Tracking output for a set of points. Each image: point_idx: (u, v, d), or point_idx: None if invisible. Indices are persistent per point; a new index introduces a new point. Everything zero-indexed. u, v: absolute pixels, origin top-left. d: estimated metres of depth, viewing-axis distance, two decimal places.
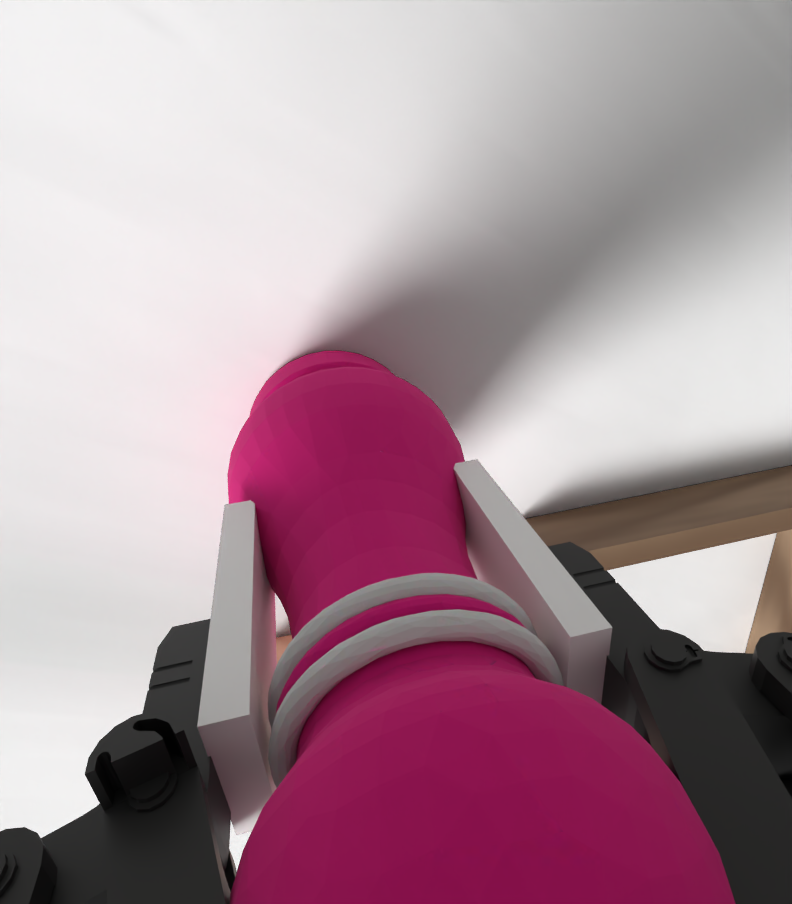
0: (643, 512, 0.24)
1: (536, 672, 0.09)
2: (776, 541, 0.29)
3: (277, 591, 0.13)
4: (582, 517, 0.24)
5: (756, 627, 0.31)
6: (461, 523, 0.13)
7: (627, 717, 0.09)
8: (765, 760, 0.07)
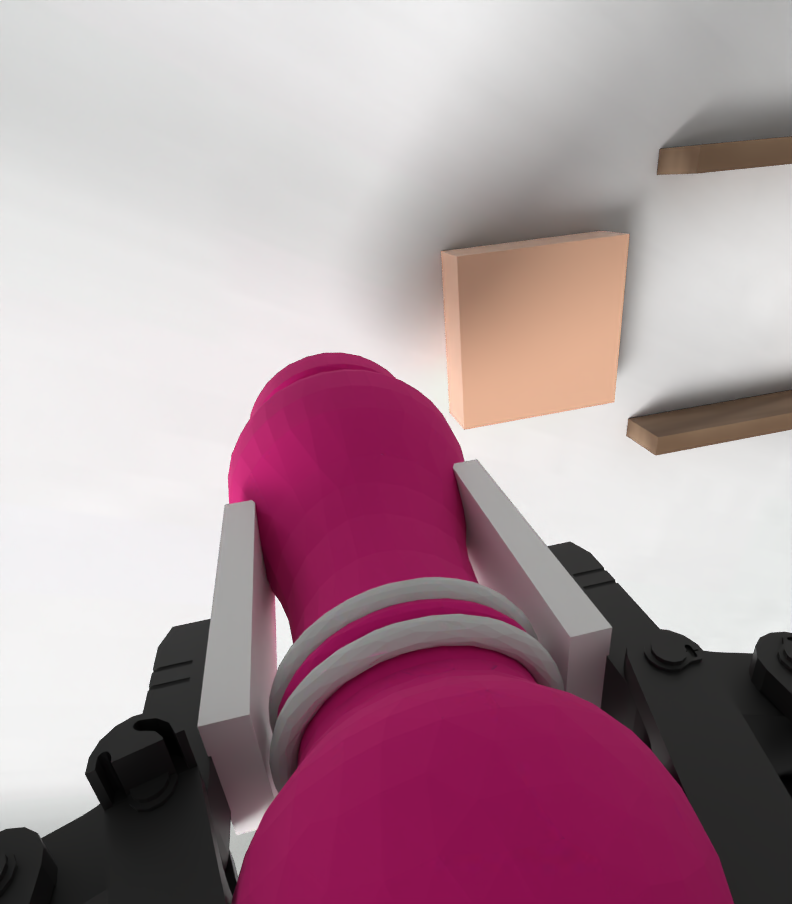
0: None
1: (537, 676, 0.09)
2: None
3: (278, 594, 0.13)
4: None
5: None
6: (461, 526, 0.13)
7: (627, 717, 0.09)
8: (765, 760, 0.07)
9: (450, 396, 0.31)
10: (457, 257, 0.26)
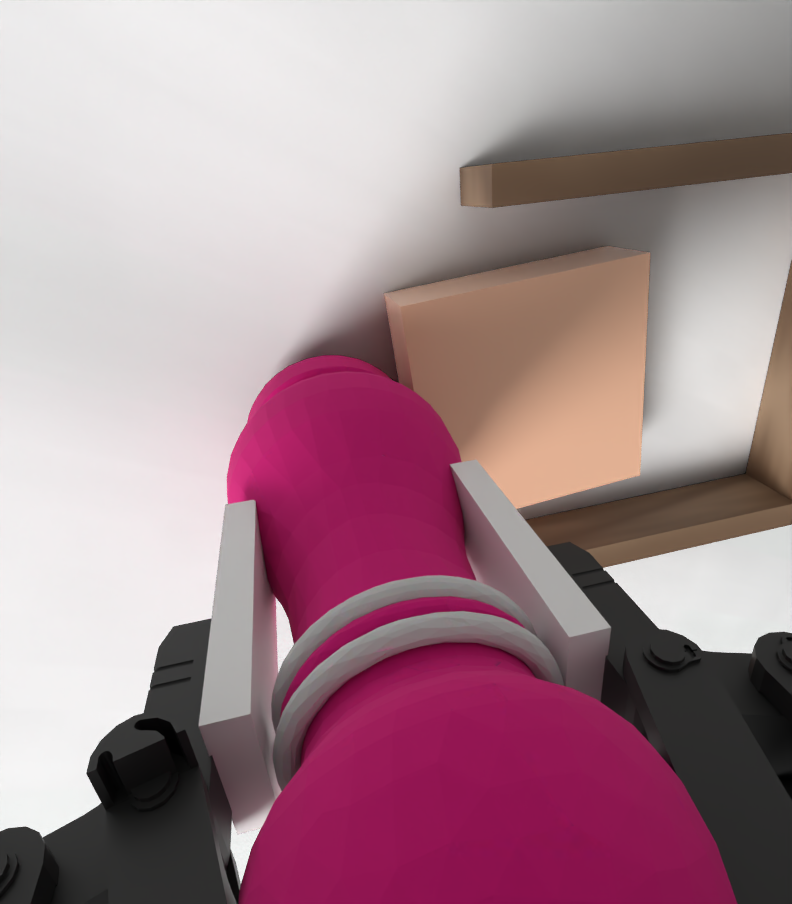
0: None
1: (538, 674, 0.09)
2: None
3: (277, 593, 0.13)
4: None
5: (770, 384, 0.26)
6: (460, 527, 0.14)
7: (626, 717, 0.09)
8: (764, 760, 0.07)
9: None
10: (401, 308, 0.18)
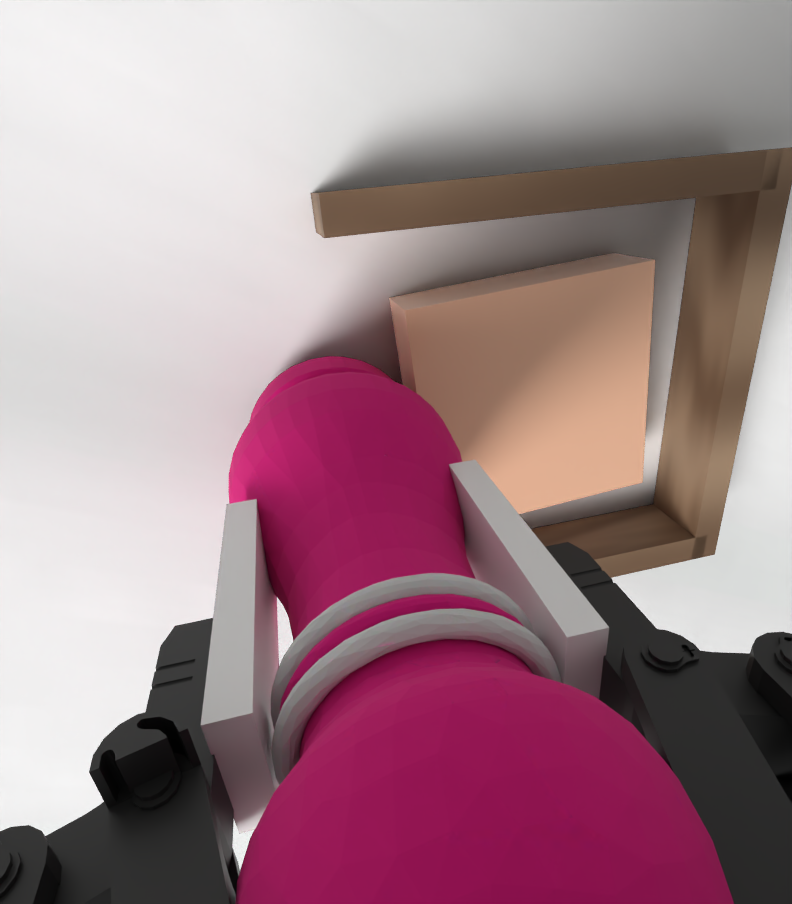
0: None
1: (537, 673, 0.09)
2: (685, 281, 0.22)
3: (277, 590, 0.13)
4: None
5: (670, 414, 0.25)
6: (461, 529, 0.14)
7: (624, 717, 0.09)
8: (761, 760, 0.07)
9: None
10: (405, 312, 0.18)
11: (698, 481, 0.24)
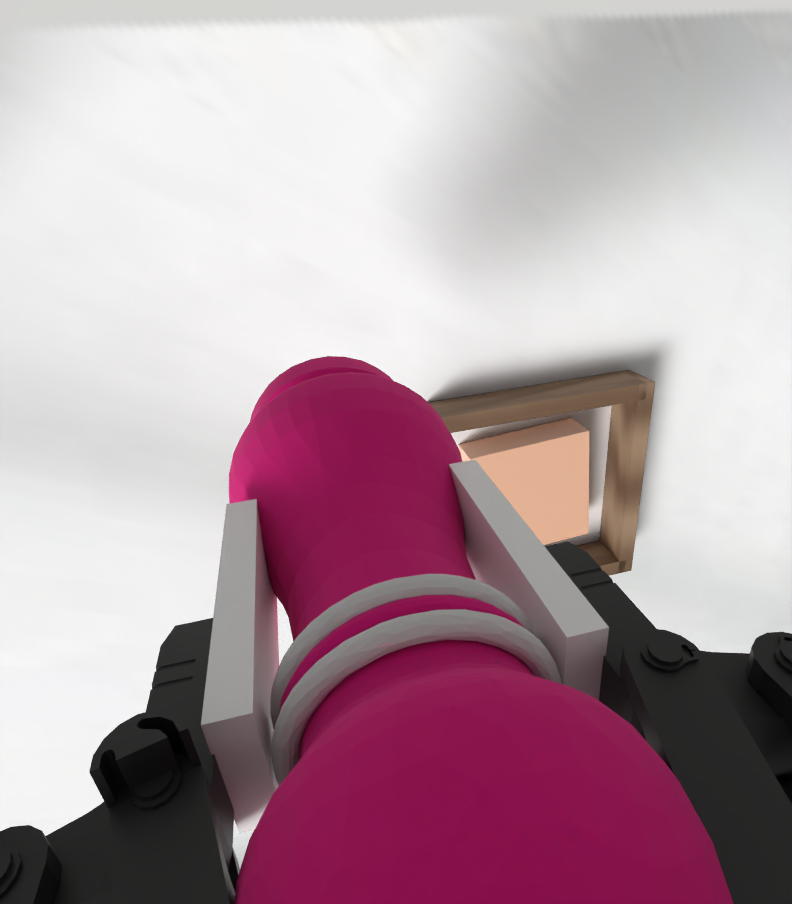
0: (506, 396, 0.38)
1: (537, 674, 0.09)
2: (610, 428, 0.43)
3: (277, 591, 0.13)
4: (467, 399, 0.38)
5: (605, 493, 0.45)
6: (461, 529, 0.14)
7: (624, 717, 0.09)
8: (761, 760, 0.07)
9: None
10: (470, 459, 0.38)
11: (619, 531, 0.44)
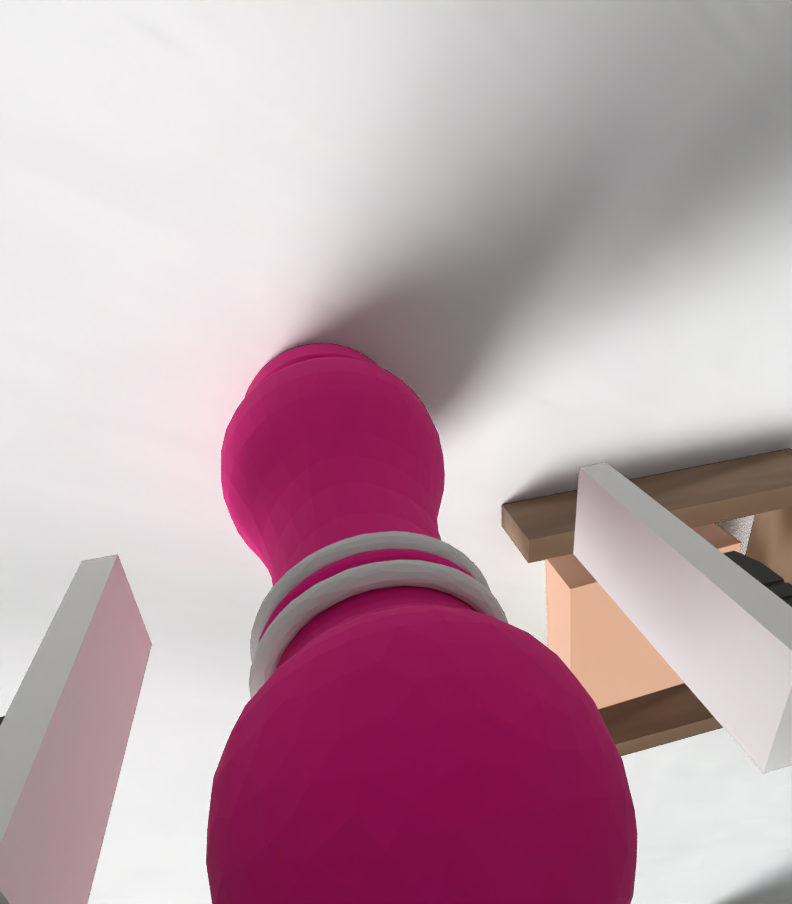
0: None
1: None
2: (753, 526, 0.30)
3: (262, 554, 0.14)
4: (566, 501, 0.26)
5: None
6: (433, 502, 0.15)
7: None
8: None
9: None
10: (570, 590, 0.26)
11: None
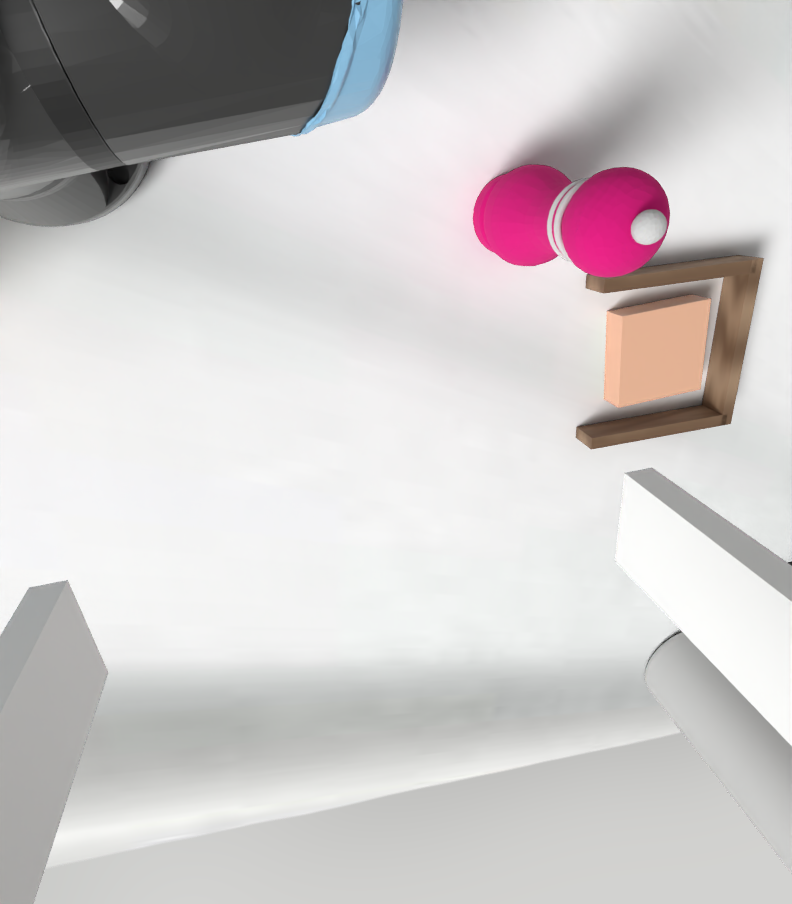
0: (649, 269, 0.50)
1: None
2: (719, 304, 0.54)
3: (525, 222, 0.38)
4: None
5: (711, 361, 0.57)
6: None
7: None
8: None
9: (606, 389, 0.55)
10: (622, 317, 0.50)
11: (724, 389, 0.56)
